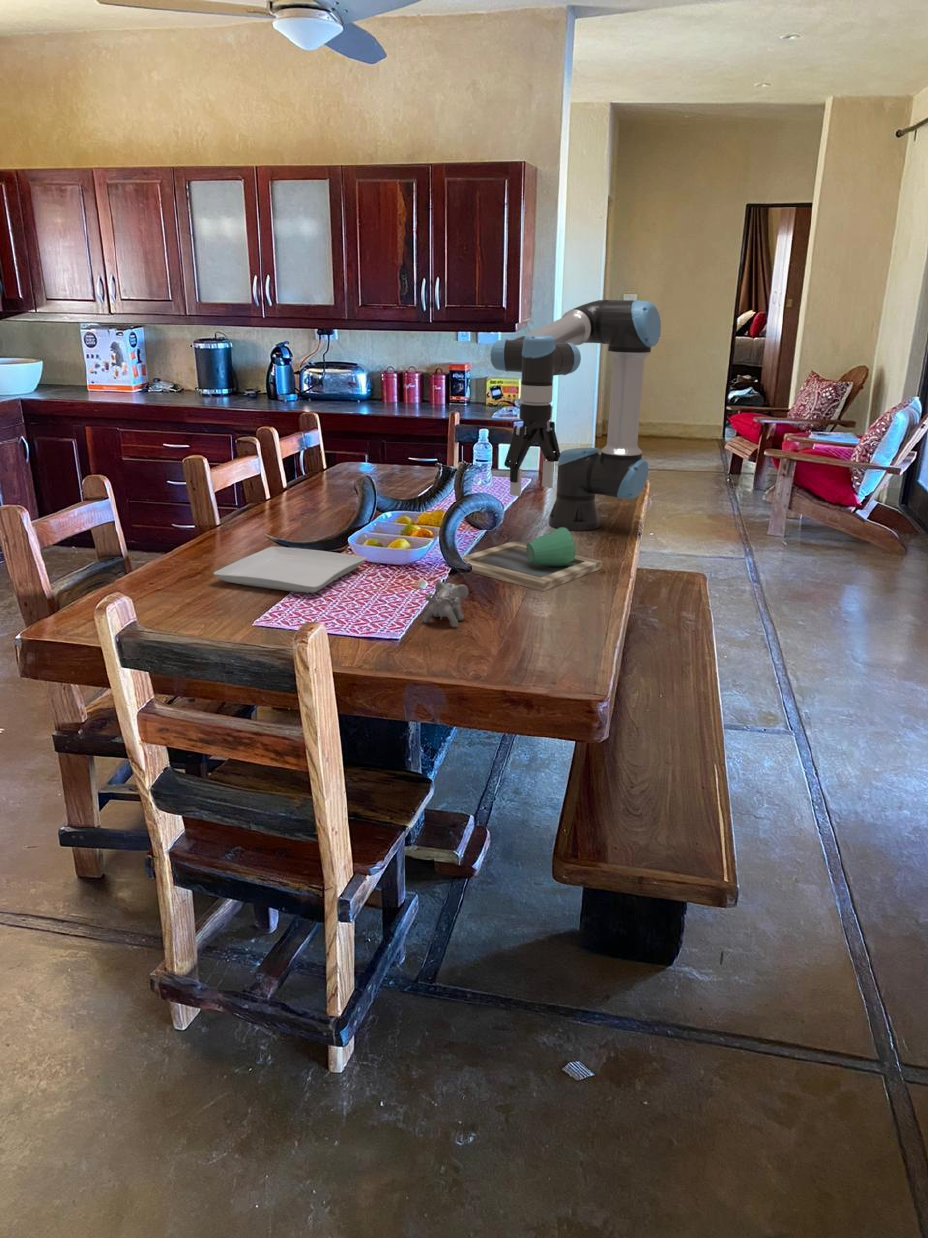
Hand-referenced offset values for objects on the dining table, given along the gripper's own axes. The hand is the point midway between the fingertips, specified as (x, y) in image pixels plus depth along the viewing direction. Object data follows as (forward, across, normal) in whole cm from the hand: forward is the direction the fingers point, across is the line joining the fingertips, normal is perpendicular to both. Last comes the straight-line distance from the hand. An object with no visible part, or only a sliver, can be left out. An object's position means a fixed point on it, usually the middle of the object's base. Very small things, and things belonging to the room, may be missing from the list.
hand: (531, 491), depth 220 cm
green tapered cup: (+16, +2, 0) cm, 16 cm away
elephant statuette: (+20, +44, +10) cm, 49 cm away
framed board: (+20, 0, 0) cm, 20 cm away
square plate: (+20, +46, -36) cm, 62 cm away
